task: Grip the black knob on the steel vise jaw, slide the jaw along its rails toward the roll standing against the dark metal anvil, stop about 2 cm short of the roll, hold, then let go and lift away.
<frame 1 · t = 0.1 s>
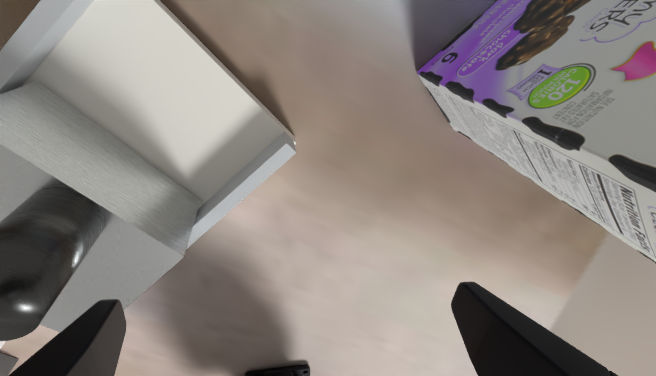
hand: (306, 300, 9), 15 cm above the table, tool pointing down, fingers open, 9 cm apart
vise jaw: (35, 248, 15), point 7 cm above the table, slide at 0.0 cm
vise bench: (15, 263, 23), on the table
candy box: (519, 30, 21), on the table
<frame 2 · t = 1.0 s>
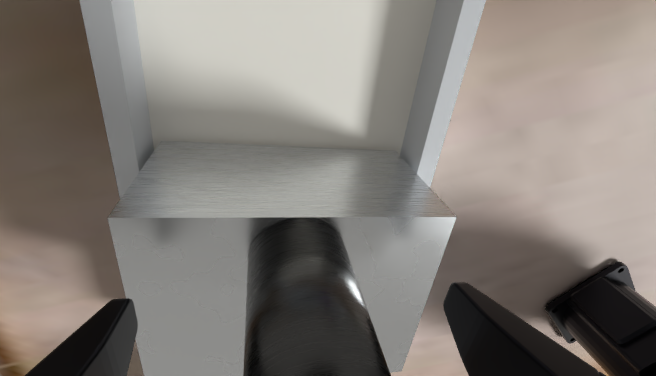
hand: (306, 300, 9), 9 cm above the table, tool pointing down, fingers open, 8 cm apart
vise jaw: (291, 308, 12), point 7 cm above the table, slide at 0.0 cm
vise bench: (273, 323, 22), on the table
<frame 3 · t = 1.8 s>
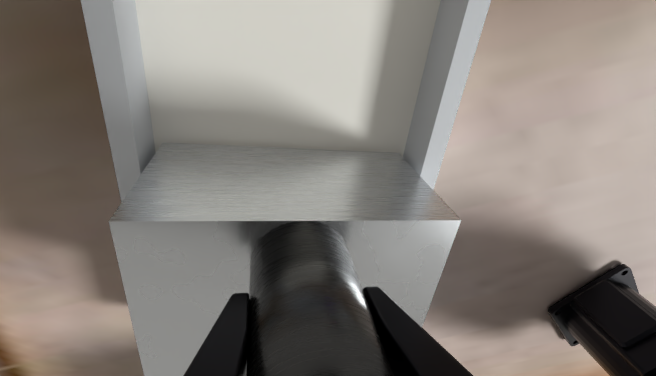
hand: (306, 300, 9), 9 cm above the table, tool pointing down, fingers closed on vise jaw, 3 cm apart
vise jaw: (294, 312, 12), point 7 cm above the table, slide at 0.0 cm, touching gripper
vise bench: (274, 326, 22), on the table
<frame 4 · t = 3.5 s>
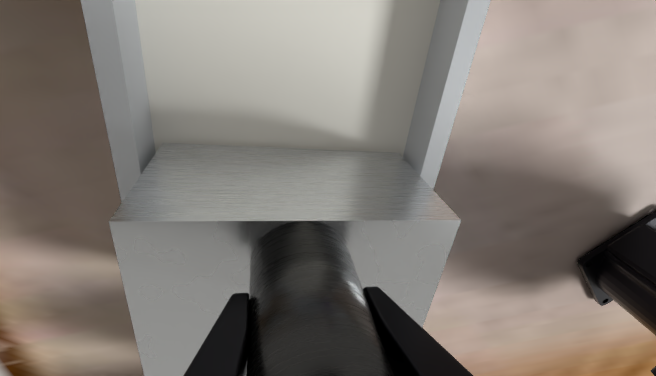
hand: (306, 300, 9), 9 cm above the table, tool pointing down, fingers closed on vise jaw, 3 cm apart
vise jaw: (294, 312, 12), point 7 cm above the table, slide at 4.9 cm, touching gripper
vise bench: (278, 269, 19), on the table
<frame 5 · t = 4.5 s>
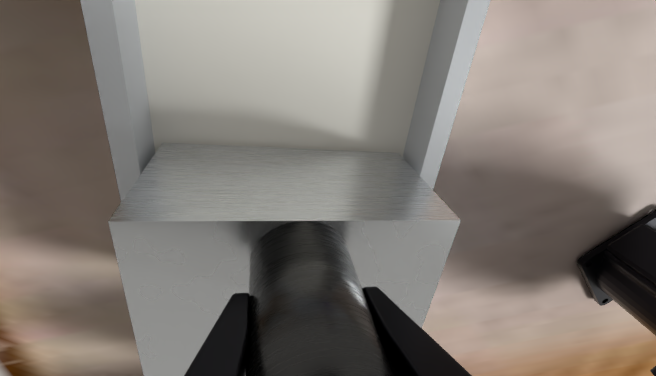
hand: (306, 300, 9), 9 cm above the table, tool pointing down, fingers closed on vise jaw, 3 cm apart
vise jaw: (293, 312, 12), point 7 cm above the table, slide at 4.9 cm, touching gripper
vise bench: (278, 268, 19), on the table
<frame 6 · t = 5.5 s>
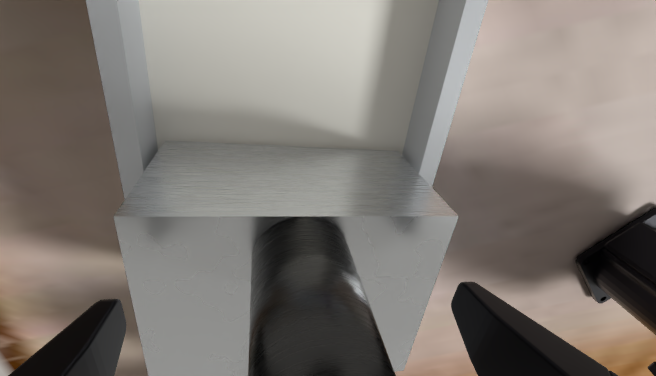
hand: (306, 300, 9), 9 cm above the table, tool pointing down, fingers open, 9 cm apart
vise jaw: (294, 307, 12), point 7 cm above the table, slide at 4.9 cm
vise bench: (279, 266, 19), on the table
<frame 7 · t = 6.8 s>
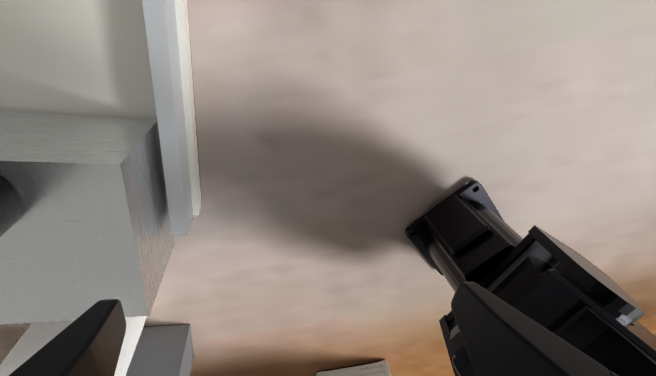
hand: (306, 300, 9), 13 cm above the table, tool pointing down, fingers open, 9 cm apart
vise jaw: (0, 248, 13), point 7 cm above the table, slide at 4.9 cm
vise bench: (94, 231, 21), on the table
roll: (110, 287, 23), on the table
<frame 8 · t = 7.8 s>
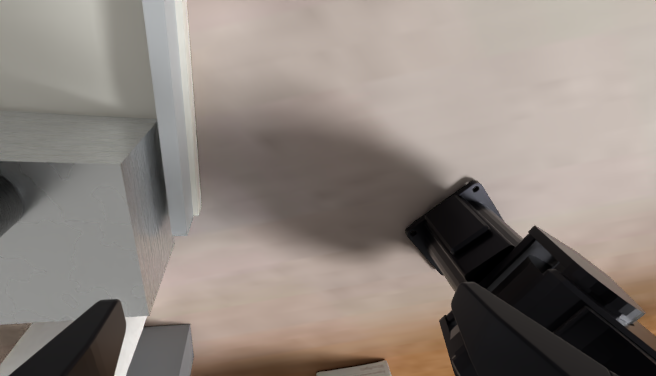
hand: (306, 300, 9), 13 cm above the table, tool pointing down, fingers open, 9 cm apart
vise jaw: (0, 248, 13), point 7 cm above the table, slide at 4.9 cm
vise bench: (94, 232, 21), on the table
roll: (110, 287, 23), on the table
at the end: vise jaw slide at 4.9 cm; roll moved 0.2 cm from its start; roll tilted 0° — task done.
